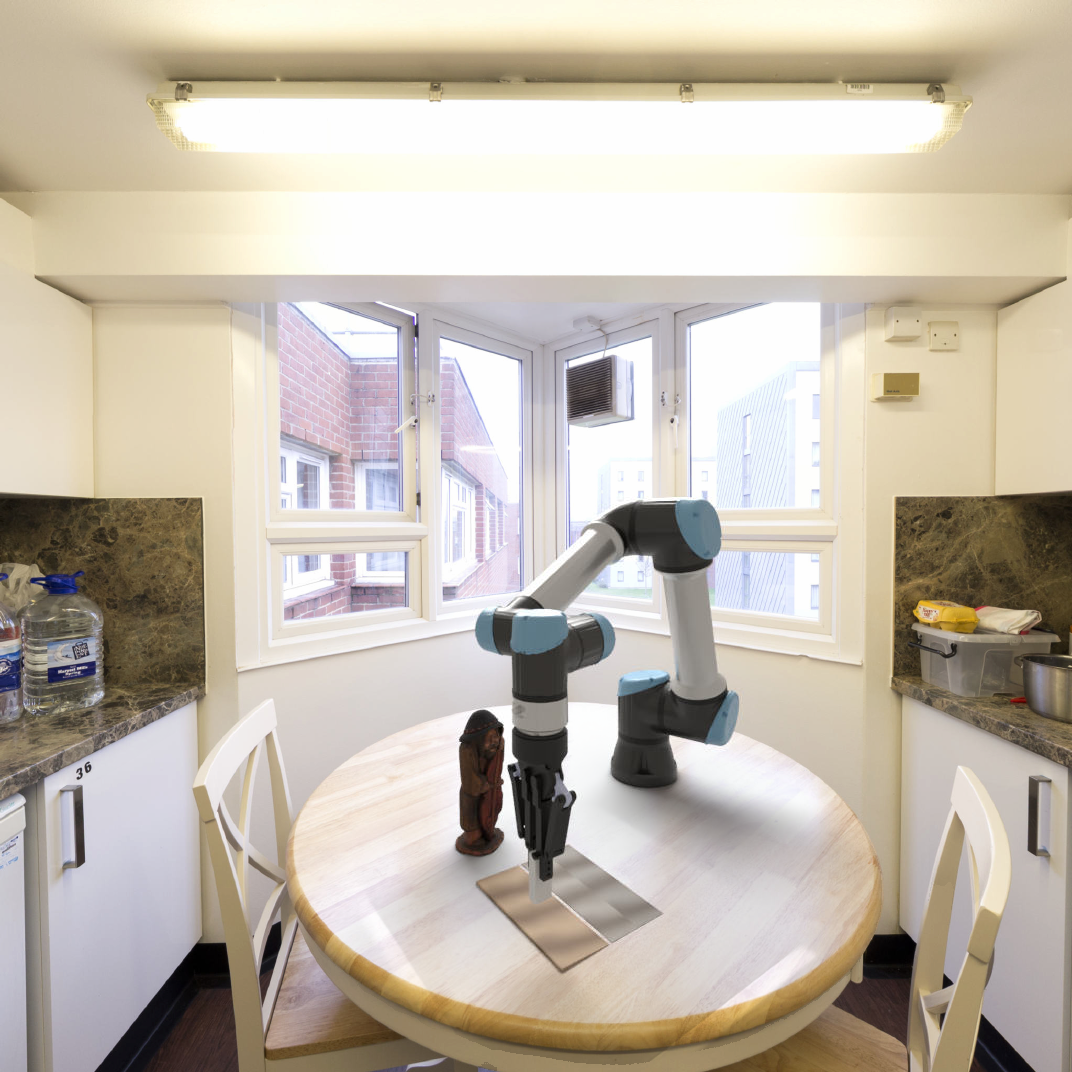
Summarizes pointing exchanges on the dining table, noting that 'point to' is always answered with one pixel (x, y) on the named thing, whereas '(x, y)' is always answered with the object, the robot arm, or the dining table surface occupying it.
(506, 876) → the plank
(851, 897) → the dining table surface
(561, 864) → the laid strip
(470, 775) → the figurine
